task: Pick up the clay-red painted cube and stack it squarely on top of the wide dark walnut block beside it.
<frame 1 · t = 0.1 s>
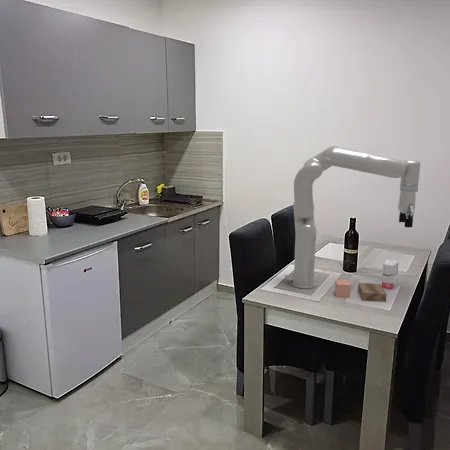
hand: (405, 224, 203), 31 cm above the table, fingers open, 9 cm apart
walnut block: (371, 296, 202), on the table
clay cube: (342, 294, 203), on the table
ink box: (388, 285, 214), on the table
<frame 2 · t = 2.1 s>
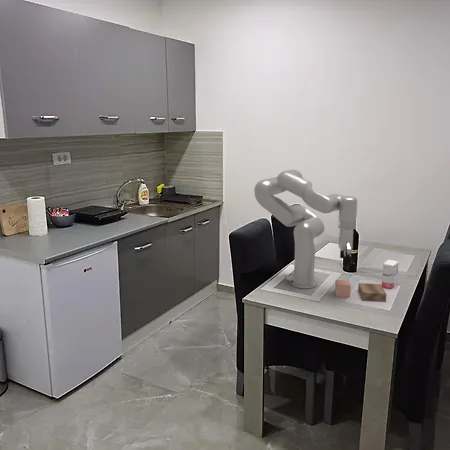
hand: (345, 261, 199), 16 cm above the table, fingers open, 9 cm apart
nothing on the table moved.
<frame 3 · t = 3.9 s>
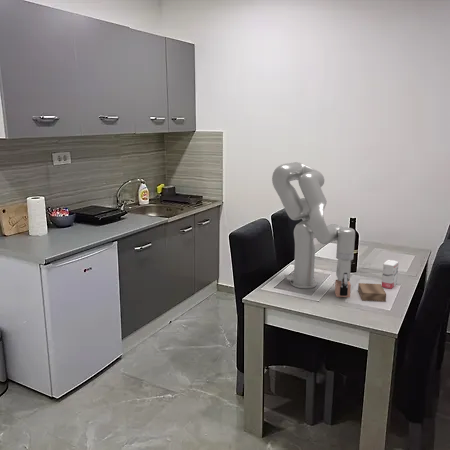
hand: (342, 292, 203), 1 cm above the table, fingers closed on clay cube, 6 cm apart
clay cube: (342, 294, 203), on the table, touching gripper
everything else where it was.
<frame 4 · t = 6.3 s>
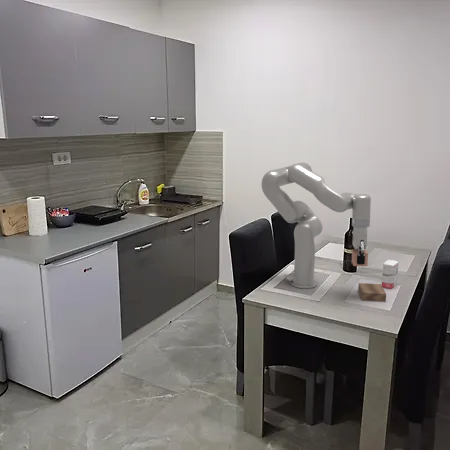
hand: (359, 261, 198), 16 cm above the table, fingers closed on clay cube, 6 cm apart
clay cube: (359, 263, 198), point 15 cm above the table, touching gripper
everything else where it was.
when the fingers open (7 cm above the table, at t = 8.9 s): clay cube drops 2 cm, point 4 cm above the table.
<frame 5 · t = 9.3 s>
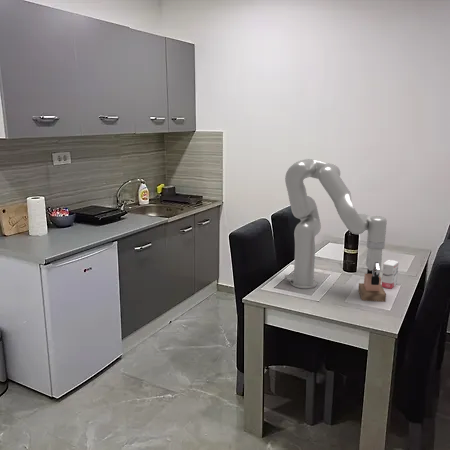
hand: (372, 280, 200), 7 cm above the table, fingers open, 9 cm apart
clay cube: (371, 288, 201), point 4 cm above the table
everything else where it was.
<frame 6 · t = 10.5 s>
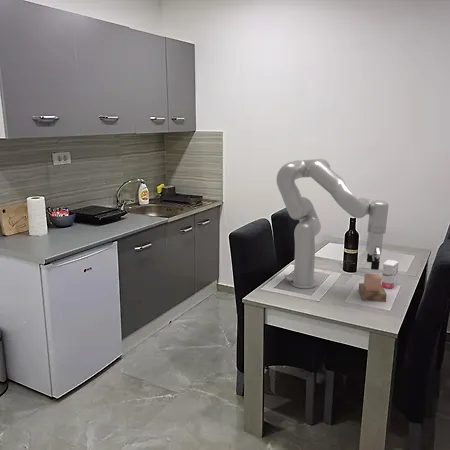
hand: (372, 265, 199), 14 cm above the table, fingers open, 9 cm apart
nothing on the table moved.
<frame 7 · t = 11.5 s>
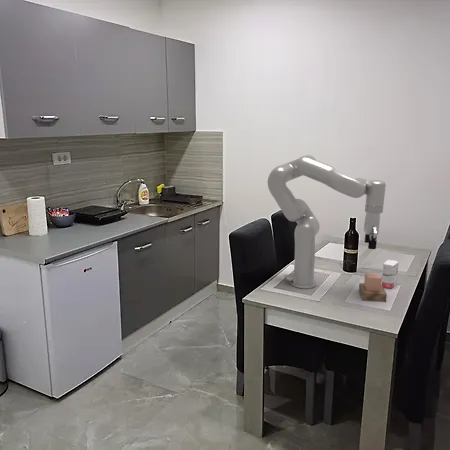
hand: (370, 245, 199), 23 cm above the table, fingers open, 9 cm apart
nothing on the table moved.
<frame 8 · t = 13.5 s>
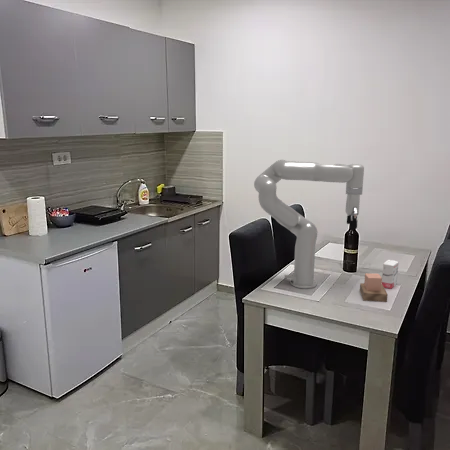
hand: (351, 226, 212), 28 cm above the table, fingers open, 9 cm apart
nothing on the table moved.
at the end: clay cube 0.5 cm off-centre on the walnut block, point 4.0 cm above the walnut block's base; clay cube tilted 0°; clay cube touching walnut block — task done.
